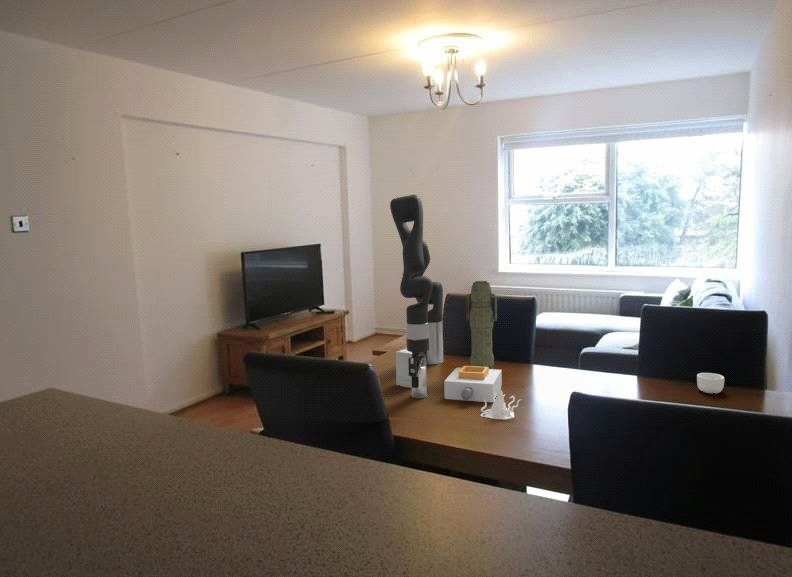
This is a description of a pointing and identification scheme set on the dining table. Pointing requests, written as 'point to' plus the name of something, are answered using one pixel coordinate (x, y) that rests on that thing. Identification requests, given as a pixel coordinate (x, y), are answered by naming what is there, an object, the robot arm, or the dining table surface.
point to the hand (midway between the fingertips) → (418, 384)
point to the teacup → (710, 382)
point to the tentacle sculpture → (499, 408)
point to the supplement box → (403, 368)
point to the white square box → (473, 384)
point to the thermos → (481, 323)
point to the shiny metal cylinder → (420, 384)
